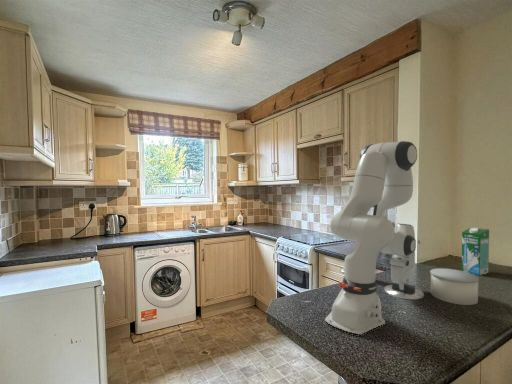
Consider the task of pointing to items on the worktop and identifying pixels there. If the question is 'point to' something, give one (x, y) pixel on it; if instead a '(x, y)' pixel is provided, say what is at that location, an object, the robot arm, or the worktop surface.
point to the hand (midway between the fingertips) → (403, 288)
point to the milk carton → (475, 251)
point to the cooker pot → (454, 286)
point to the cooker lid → (404, 292)
